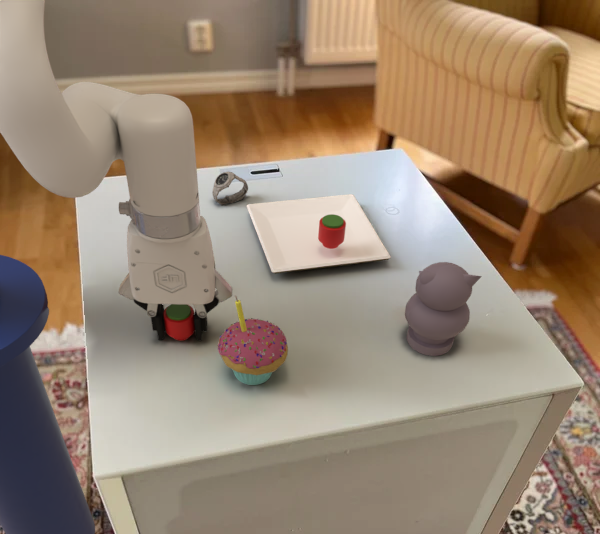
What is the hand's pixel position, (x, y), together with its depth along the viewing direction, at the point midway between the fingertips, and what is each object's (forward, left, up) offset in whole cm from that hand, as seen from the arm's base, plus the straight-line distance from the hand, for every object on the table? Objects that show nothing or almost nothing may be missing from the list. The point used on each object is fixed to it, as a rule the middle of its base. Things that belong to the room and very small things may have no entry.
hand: (181, 332), depth 86 cm
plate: (+19, +23, -1) cm, 30 cm away
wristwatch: (+5, +34, -1) cm, 34 cm away
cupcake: (+10, -7, -1) cm, 12 cm away
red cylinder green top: (+21, +19, +2) cm, 28 cm away
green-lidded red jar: (0, 0, 0) cm, 0 cm away
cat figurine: (+34, 0, -1) cm, 34 cm away
